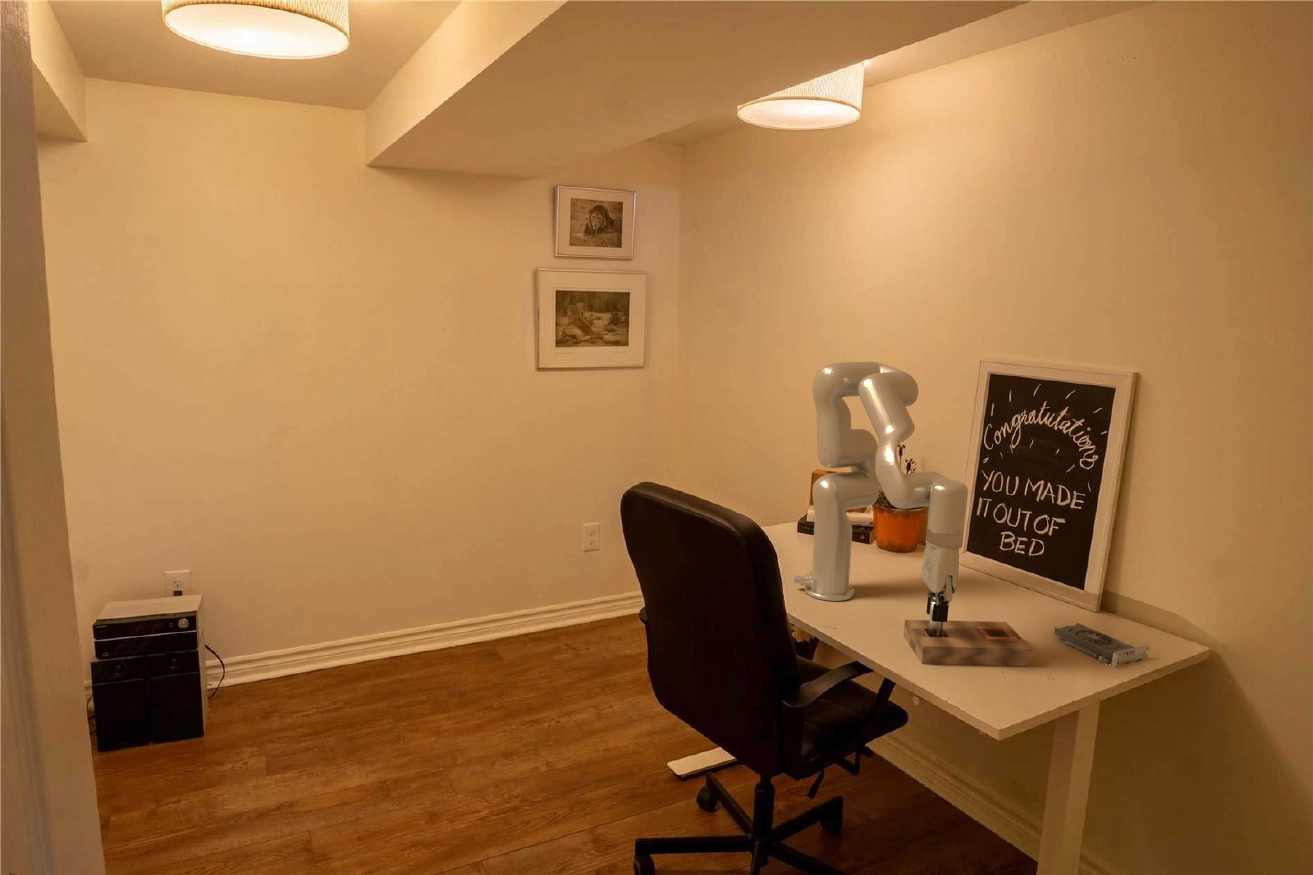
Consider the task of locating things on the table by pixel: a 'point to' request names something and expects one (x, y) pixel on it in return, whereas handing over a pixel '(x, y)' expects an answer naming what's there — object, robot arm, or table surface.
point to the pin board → (968, 644)
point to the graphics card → (1101, 645)
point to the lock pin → (934, 627)
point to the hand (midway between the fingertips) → (936, 617)
